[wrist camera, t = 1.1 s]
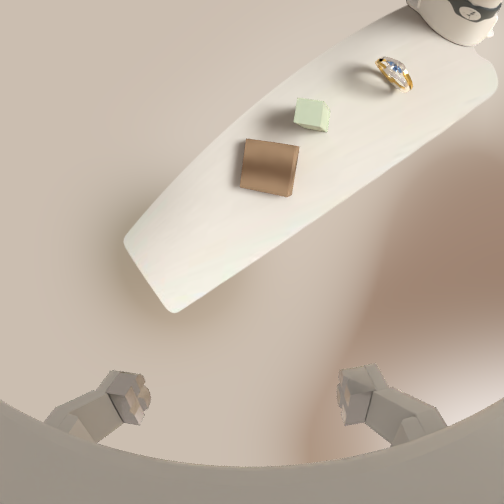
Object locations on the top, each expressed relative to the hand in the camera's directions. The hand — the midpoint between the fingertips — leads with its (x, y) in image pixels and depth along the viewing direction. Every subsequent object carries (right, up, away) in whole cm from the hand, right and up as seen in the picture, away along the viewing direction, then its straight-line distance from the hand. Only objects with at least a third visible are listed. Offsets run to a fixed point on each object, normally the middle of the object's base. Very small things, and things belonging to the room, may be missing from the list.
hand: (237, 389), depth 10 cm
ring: (+24, +34, +25) cm, 49 cm away
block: (+12, +28, +32) cm, 44 cm away
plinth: (+4, +21, +38) cm, 44 cm away
